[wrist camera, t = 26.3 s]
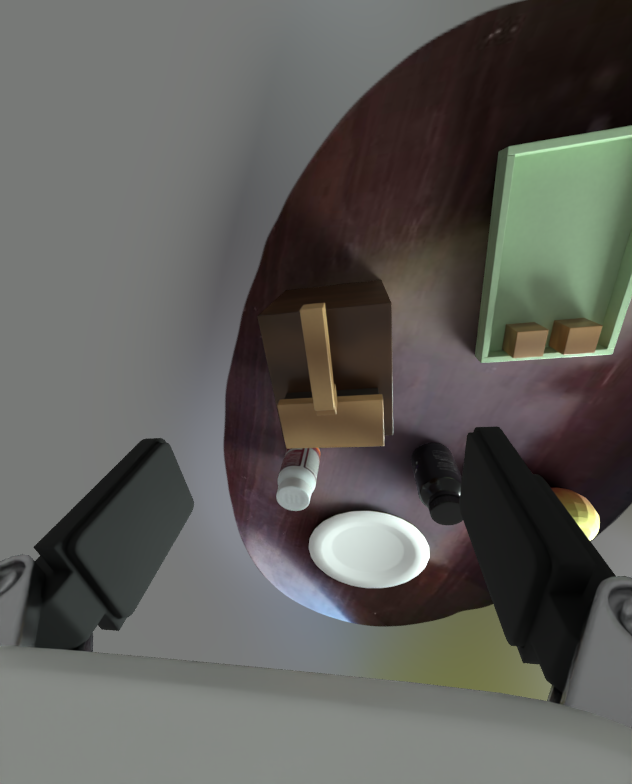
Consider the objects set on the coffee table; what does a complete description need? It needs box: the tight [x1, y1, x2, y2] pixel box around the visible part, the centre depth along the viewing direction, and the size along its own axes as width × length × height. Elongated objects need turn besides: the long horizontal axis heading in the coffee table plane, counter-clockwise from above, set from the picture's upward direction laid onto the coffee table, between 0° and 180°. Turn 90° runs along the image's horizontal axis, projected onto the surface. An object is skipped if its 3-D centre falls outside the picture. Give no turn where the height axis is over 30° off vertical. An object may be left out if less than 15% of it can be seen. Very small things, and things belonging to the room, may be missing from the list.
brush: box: [277, 303, 384, 449], centre depth 30 cm, size 16×11×6 cm
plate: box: [309, 510, 429, 588], centre depth 65 cm, size 25×25×2 cm
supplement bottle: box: [411, 443, 463, 525], centre depth 48 cm, size 7×7×12 cm
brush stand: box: [257, 280, 393, 439], centre depth 39 cm, size 15×13×14 cm
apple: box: [551, 487, 600, 540], centre depth 51 cm, size 10×10×8 cm
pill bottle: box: [276, 448, 320, 511], centre depth 51 cm, size 6×6×11 cm
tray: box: [475, 125, 632, 363], centre depth 36 cm, size 24×16×3 cm, turn 7°
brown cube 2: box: [549, 318, 603, 355], centre depth 39 cm, size 4×4×4 cm
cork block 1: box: [502, 322, 549, 358], centre depth 40 cm, size 4×4×4 cm
